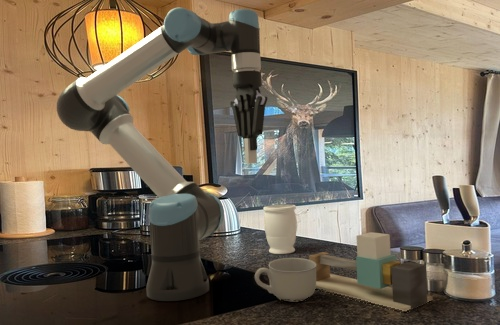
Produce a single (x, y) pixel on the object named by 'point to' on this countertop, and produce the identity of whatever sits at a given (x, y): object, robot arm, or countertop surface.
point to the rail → (394, 273)
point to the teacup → (290, 278)
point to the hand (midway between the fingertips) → (251, 163)
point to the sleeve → (372, 258)
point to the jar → (280, 228)
